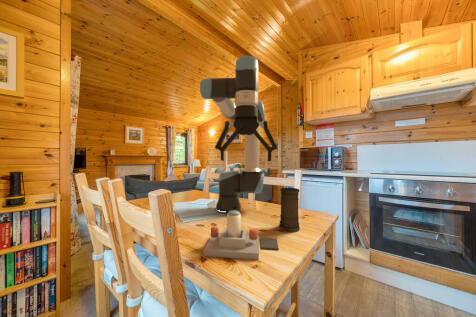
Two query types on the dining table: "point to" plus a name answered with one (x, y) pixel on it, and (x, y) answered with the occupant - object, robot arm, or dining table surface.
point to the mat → (269, 243)
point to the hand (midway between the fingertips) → (245, 171)
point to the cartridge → (234, 224)
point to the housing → (233, 246)
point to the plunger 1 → (214, 232)
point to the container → (289, 210)
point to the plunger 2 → (253, 234)
